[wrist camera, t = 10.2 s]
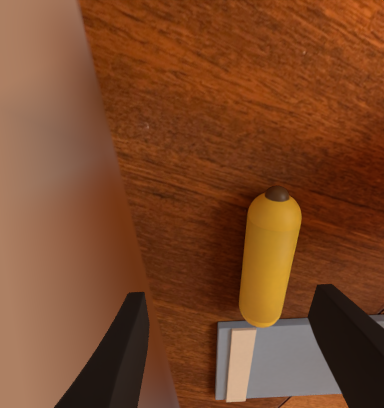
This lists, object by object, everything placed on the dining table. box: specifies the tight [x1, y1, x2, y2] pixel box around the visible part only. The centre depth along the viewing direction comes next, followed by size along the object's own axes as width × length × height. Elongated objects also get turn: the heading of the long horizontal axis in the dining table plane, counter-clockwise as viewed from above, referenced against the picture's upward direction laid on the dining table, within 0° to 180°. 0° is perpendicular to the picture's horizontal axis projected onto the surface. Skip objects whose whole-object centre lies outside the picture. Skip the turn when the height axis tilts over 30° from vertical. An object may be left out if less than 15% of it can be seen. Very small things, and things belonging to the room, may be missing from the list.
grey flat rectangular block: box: [215, 315, 384, 402], centre depth 29 cm, size 18×14×1 cm
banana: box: [239, 186, 302, 328], centre depth 20 cm, size 14×4×4 cm, turn 1°
